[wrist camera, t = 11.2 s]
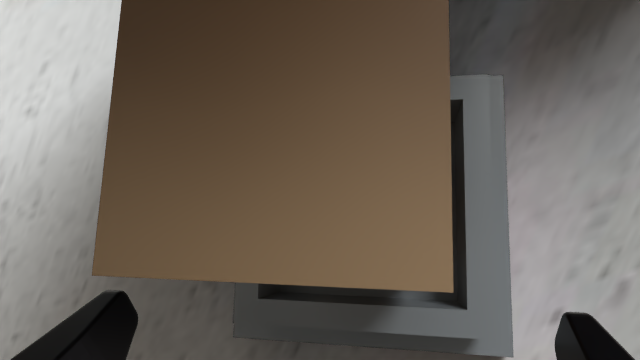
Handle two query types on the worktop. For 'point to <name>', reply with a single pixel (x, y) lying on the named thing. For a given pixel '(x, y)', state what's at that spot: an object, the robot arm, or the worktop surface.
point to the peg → (280, 144)
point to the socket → (420, 306)
